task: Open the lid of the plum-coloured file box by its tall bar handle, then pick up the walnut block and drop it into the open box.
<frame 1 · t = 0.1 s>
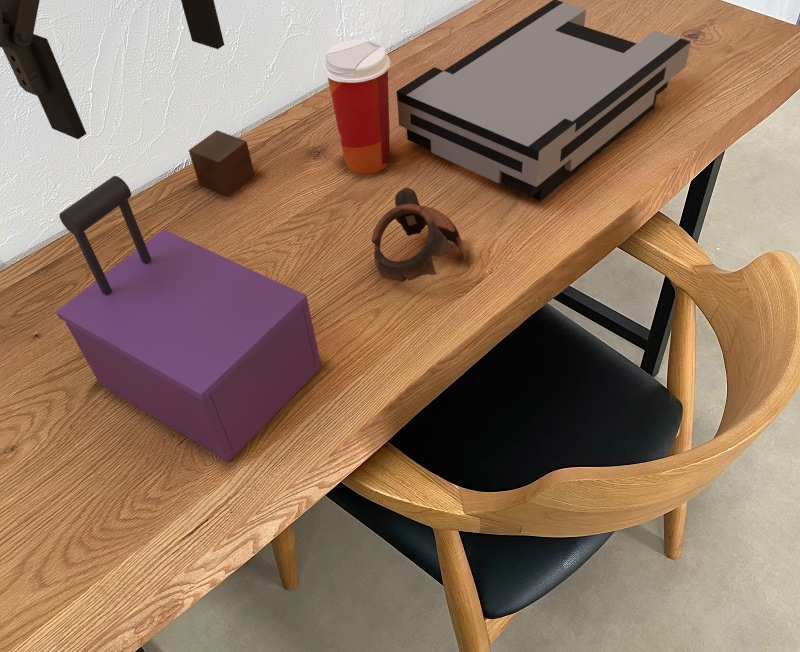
hand: (143, 85, 57), 29 cm above the table, tool pointing down, fingers open, 13 cm apart
file box: (210, 375, 79), on the table
file lid: (166, 267, 68), point 14 cm above the table, hinge at 0.0°
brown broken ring: (418, 260, 88), on the table
game console: (543, 123, 103), on the table
paper cup: (367, 162, 100), on the table
block: (227, 180, 99), on the table
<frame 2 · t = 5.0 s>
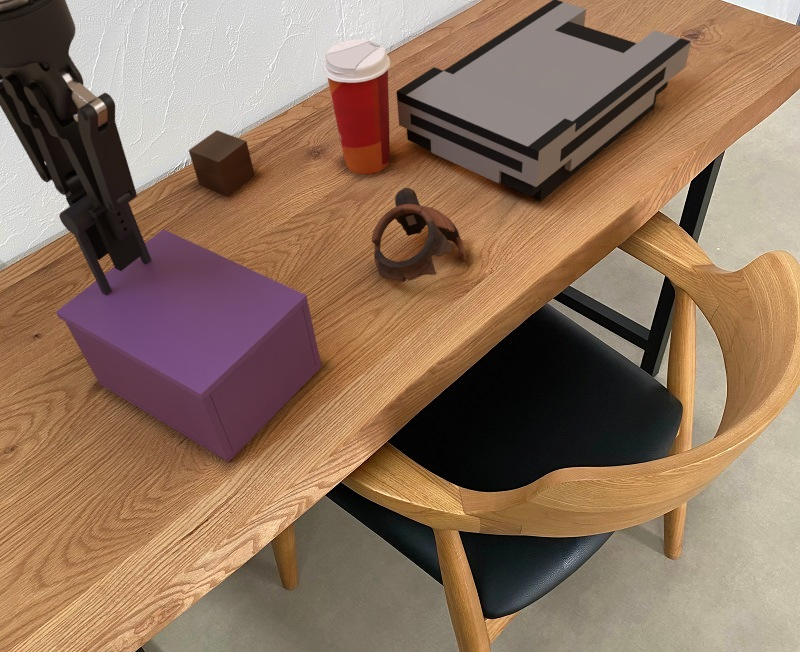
hand: (118, 255, 72), 12 cm above the table, tool pointing down, fingers closed on file lid, 2 cm apart
file lid: (166, 267, 68), point 14 cm above the table, hinge at 0.0°, touching gripper
everything else where it was.
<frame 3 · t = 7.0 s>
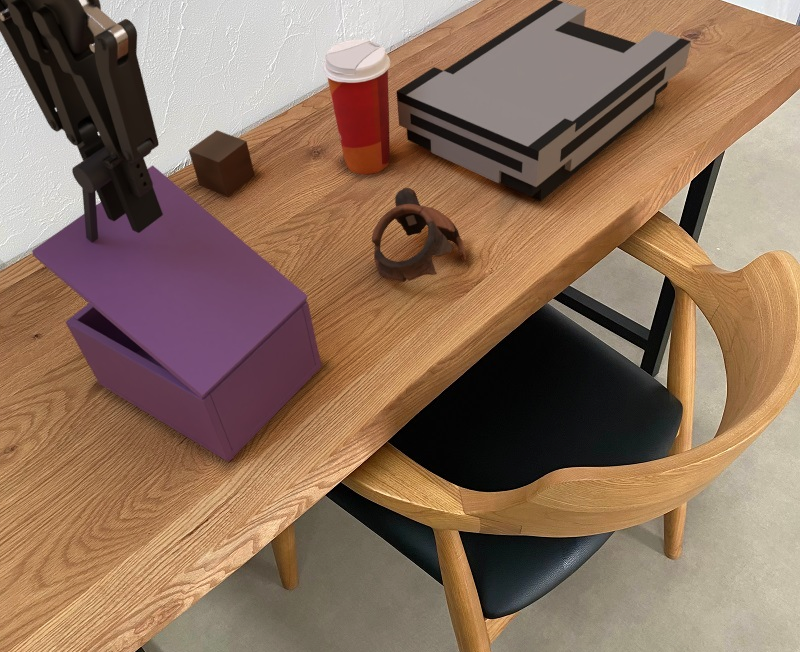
hand: (135, 216, 65), 19 cm above the table, tool pointing down, fingers closed on file lid, 2 cm apart
file lid: (179, 246, 64), point 17 cm above the table, hinge at 26.0°, touching gripper
everything else where it was.
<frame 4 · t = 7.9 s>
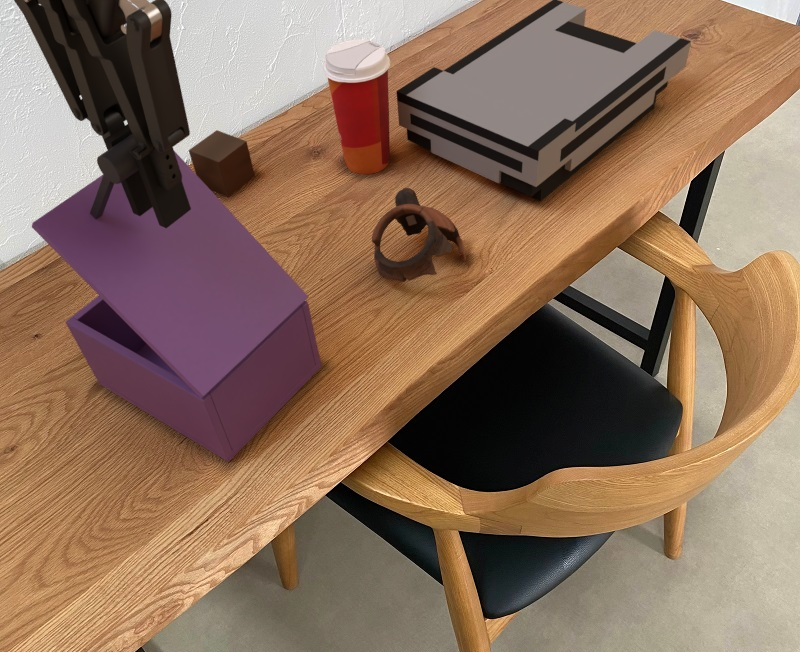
hand: (162, 210, 62), 21 cm above the table, tool pointing down, fingers closed on file lid, 2 cm apart
file lid: (194, 243, 62), point 19 cm above the table, hinge at 40.4°, touching gripper
everything else where it was.
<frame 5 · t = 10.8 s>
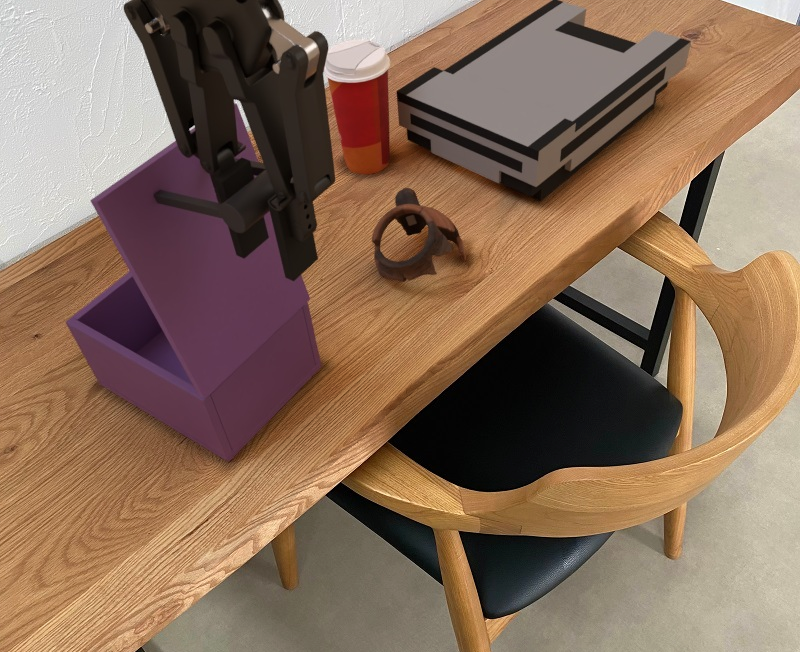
hand: (276, 256, 57), 21 cm above the table, tool pointing down, fingers open, 4 cm apart
file lid: (258, 268, 59), point 19 cm above the table, hinge at 79.2°
everything else where it was.
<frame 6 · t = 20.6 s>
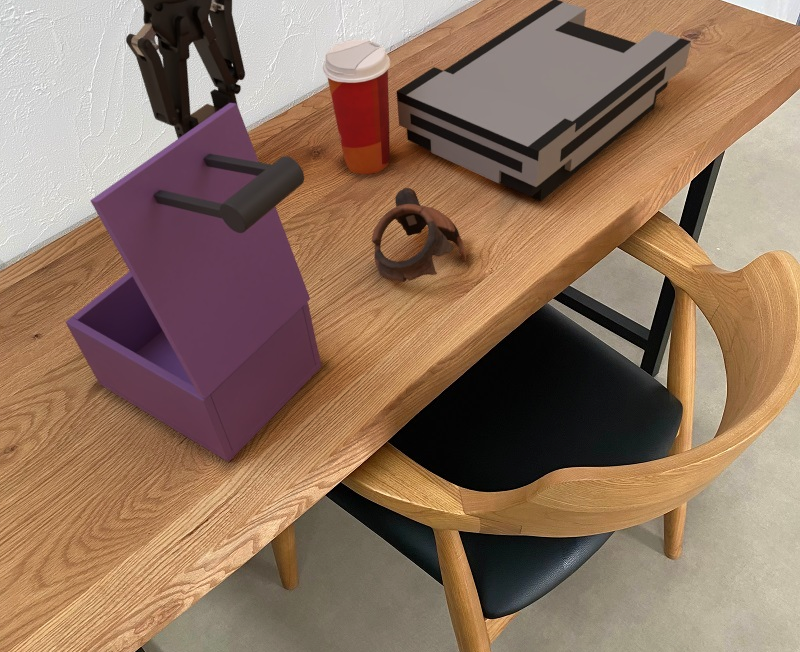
hand: (216, 153, 96), 4 cm above the table, tool pointing down, fingers closed on block, 5 cm apart
block: (217, 156, 97), point 4 cm above the table, touching gripper
everything else where it was.
when the fingers open (13 cm above the table, at t = 25.9 s): block drops 12 cm, resting on file box.
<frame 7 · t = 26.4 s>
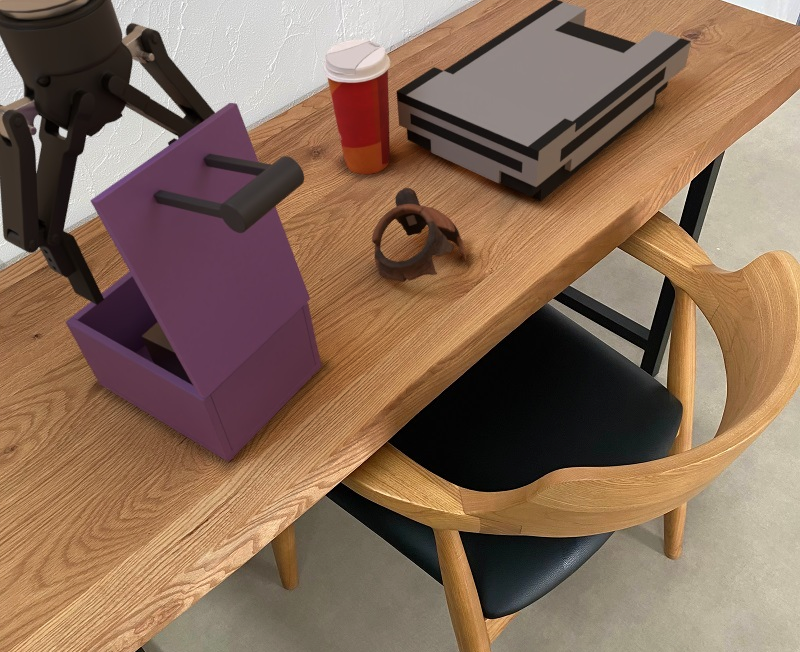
hand: (148, 250, 68), 15 cm above the table, tool pointing down, fingers open, 12 cm apart
block: (192, 364, 79), point 1 cm above the table, touching file box
everything else where it was.
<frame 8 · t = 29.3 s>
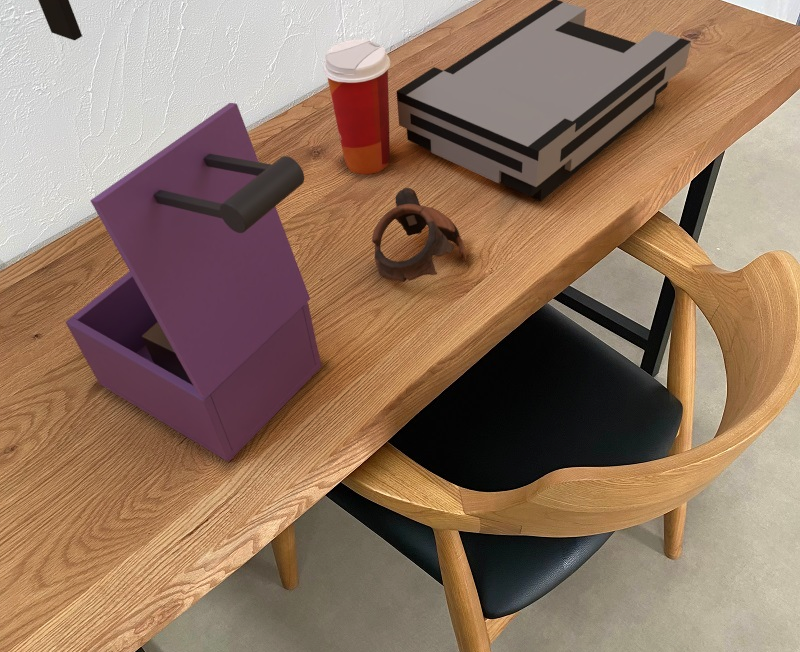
nothing on the table moved.
at the end: file lid at +79° (first picture: +0°); block inside the target area in the file box (1.9 cm from its centre), point 0.8 cm above the file box's base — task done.
